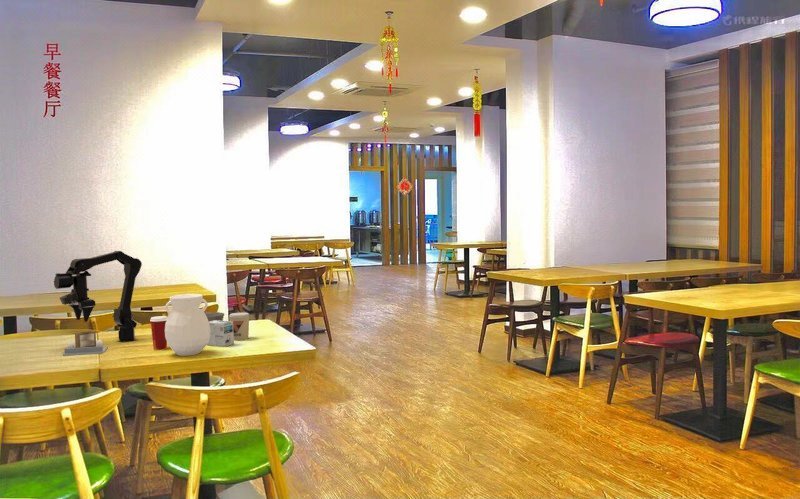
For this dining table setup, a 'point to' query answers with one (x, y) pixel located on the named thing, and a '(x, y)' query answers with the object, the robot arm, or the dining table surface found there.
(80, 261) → the robot arm
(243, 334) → the coffee cup
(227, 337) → the light bulb box
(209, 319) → the bowl
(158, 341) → the paper cup
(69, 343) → the wall panel
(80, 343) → the brown box shape
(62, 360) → the dining table surface
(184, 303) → the white vase
